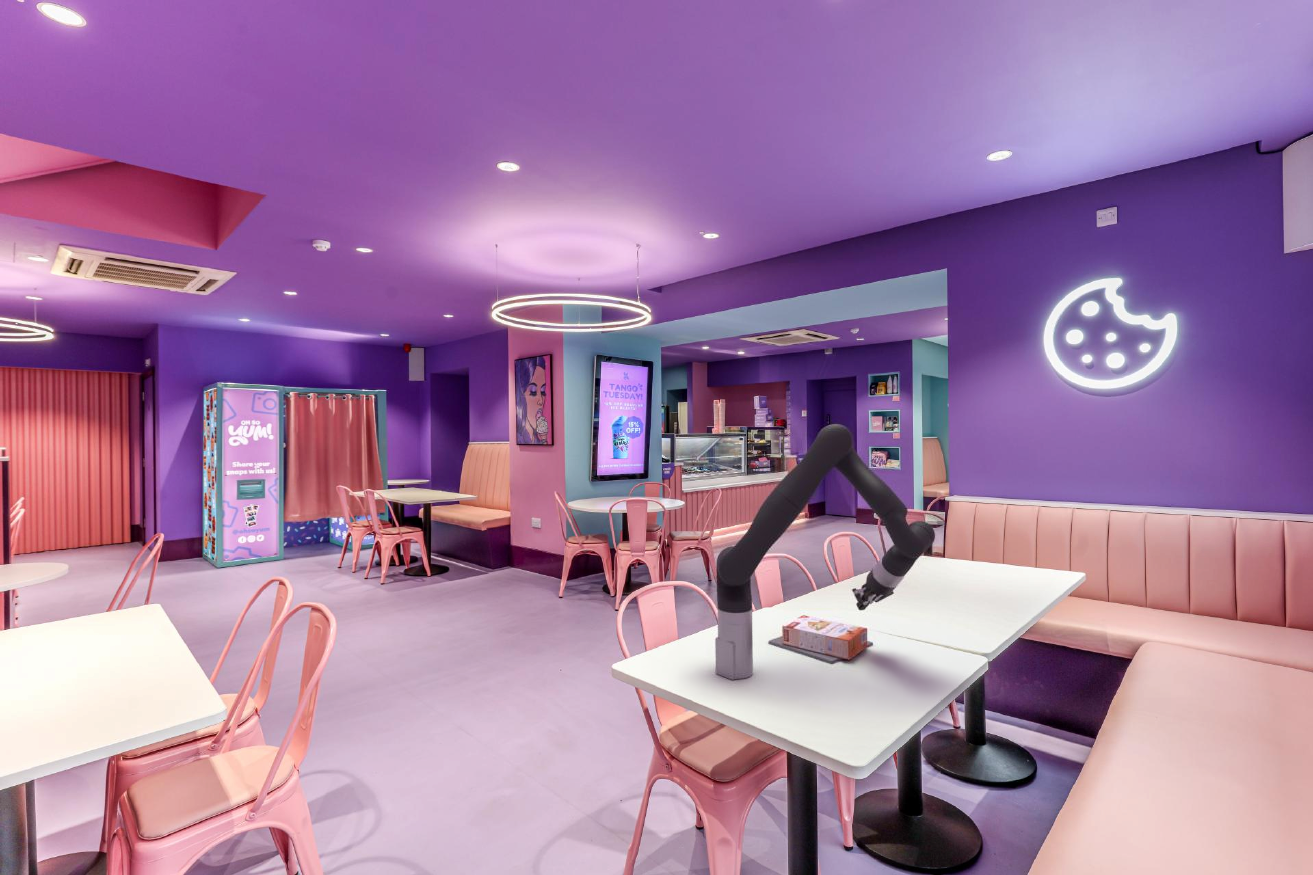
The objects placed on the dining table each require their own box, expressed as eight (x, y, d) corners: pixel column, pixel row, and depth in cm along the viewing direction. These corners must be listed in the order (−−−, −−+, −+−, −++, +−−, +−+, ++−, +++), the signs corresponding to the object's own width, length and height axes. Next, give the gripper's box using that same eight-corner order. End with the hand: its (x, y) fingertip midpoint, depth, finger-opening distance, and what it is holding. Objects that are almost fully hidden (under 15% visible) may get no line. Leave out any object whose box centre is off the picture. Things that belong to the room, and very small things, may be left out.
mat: (831, 663, 162) (831, 661, 162) (768, 643, 179) (768, 640, 179) (873, 644, 176) (872, 642, 176) (810, 627, 193) (810, 625, 193)
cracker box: (849, 638, 162) (781, 624, 175) (850, 660, 162) (781, 645, 175) (867, 626, 173) (802, 614, 186) (868, 646, 173) (802, 633, 186)
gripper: (900, 561, 164) (873, 594, 176) (859, 564, 160) (834, 597, 172) (913, 585, 159) (885, 617, 171) (871, 588, 155) (845, 621, 167)
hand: (859, 607), depth 171 cm, fingers closed
